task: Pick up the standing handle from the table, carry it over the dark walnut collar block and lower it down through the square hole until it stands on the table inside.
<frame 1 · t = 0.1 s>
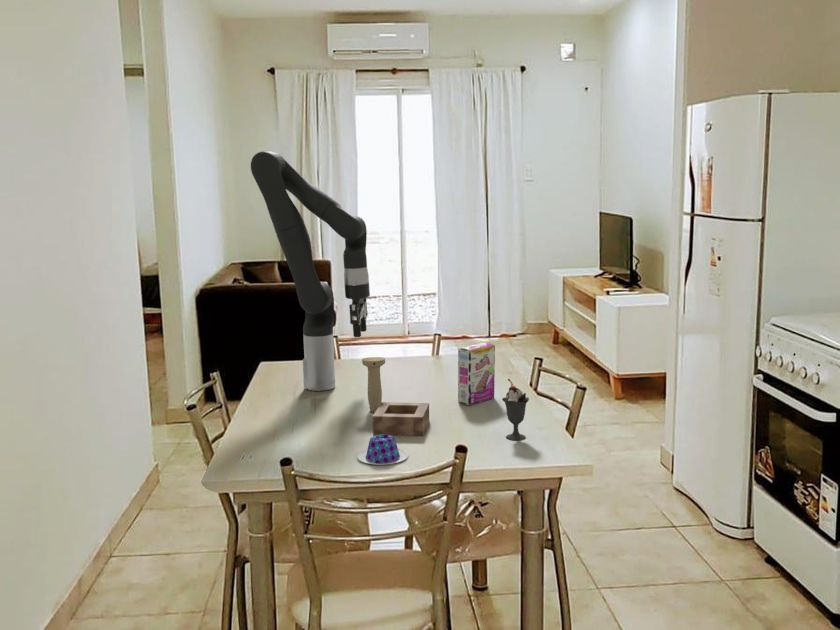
hand: (360, 334, 260), 17 cm above the table, tool pointing down, fingers open, 8 cm apart
handle: (375, 411, 239), on the table
candy bar box: (476, 401, 247), on the table
pudding: (383, 459, 201), on the table
sundae: (515, 438, 213), on the table
collar block: (401, 427, 223), on the table
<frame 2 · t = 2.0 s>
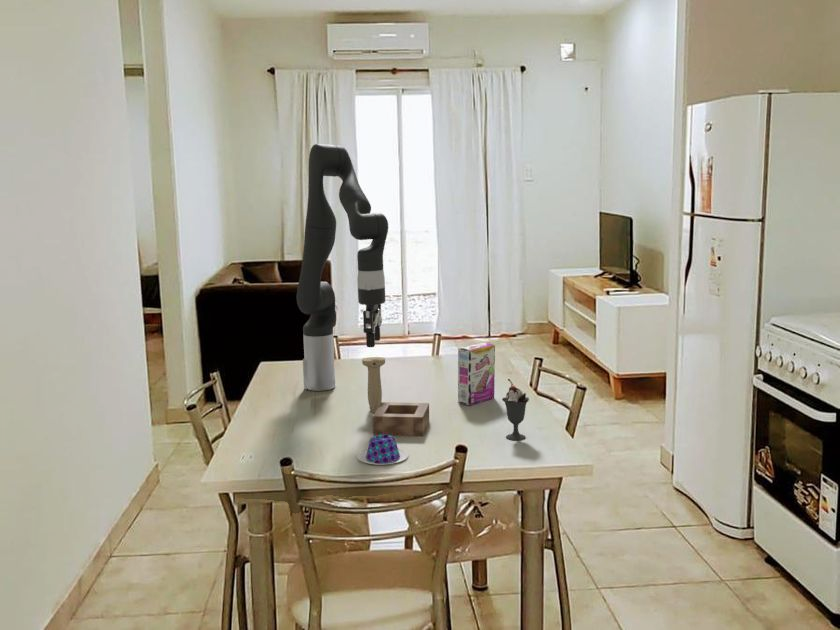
hand: (373, 343, 236), 19 cm above the table, tool pointing down, fingers open, 8 cm apart
nothing on the table moved.
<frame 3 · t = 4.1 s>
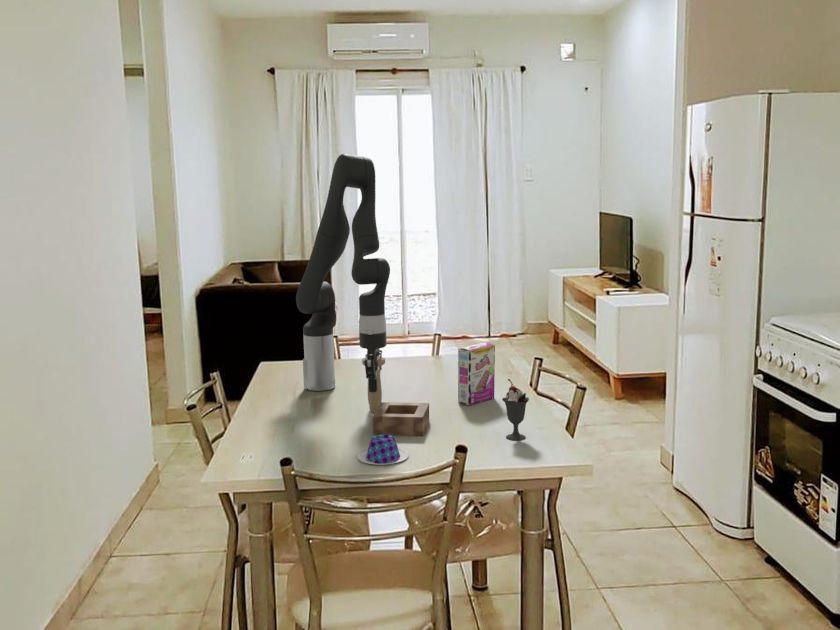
hand: (374, 389, 238), 6 cm above the table, tool pointing down, fingers closed on handle, 4 cm apart
handle: (375, 411, 239), on the table, touching gripper
everything else where it was.
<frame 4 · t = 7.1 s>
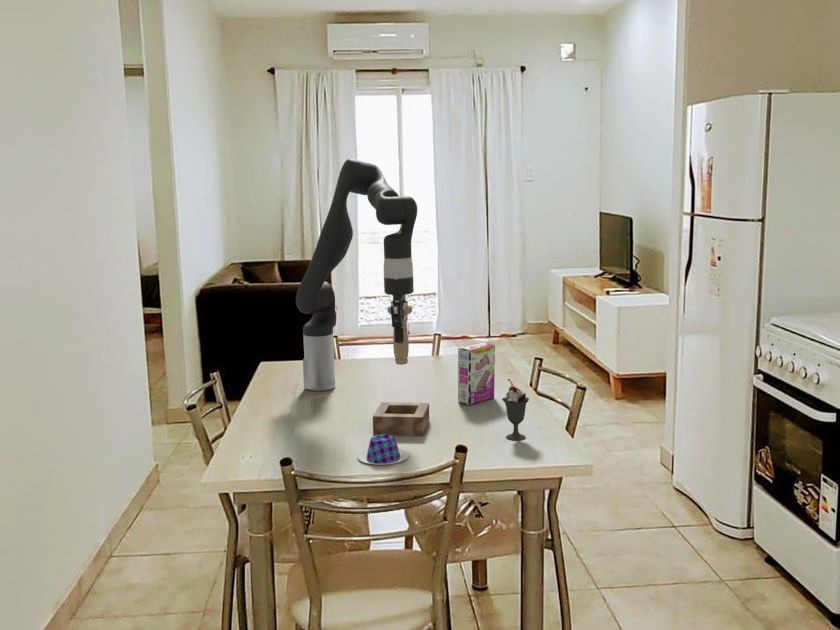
hand: (400, 340, 219), 24 cm above the table, tool pointing down, fingers closed on handle, 4 cm apart
handle: (401, 364, 220), point 17 cm above the table, touching gripper
everything else where it was.
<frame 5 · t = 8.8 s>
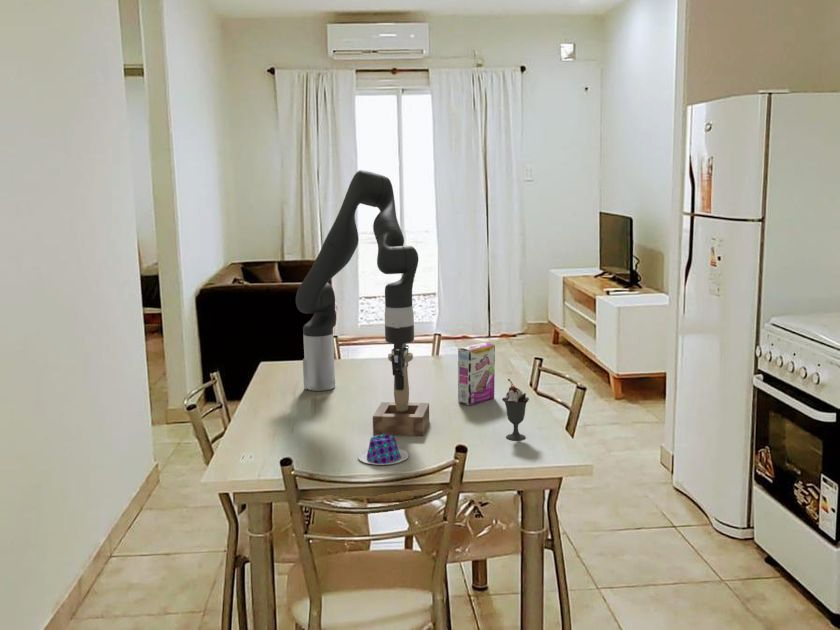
hand: (401, 387, 221), 11 cm above the table, tool pointing down, fingers closed on handle, 4 cm apart
handle: (401, 410, 222), point 5 cm above the table, touching gripper
everything else where it was.
when the fingers open (8 cm above the table, at t = 10.1 s): handle drops 2 cm, resting in collar block.
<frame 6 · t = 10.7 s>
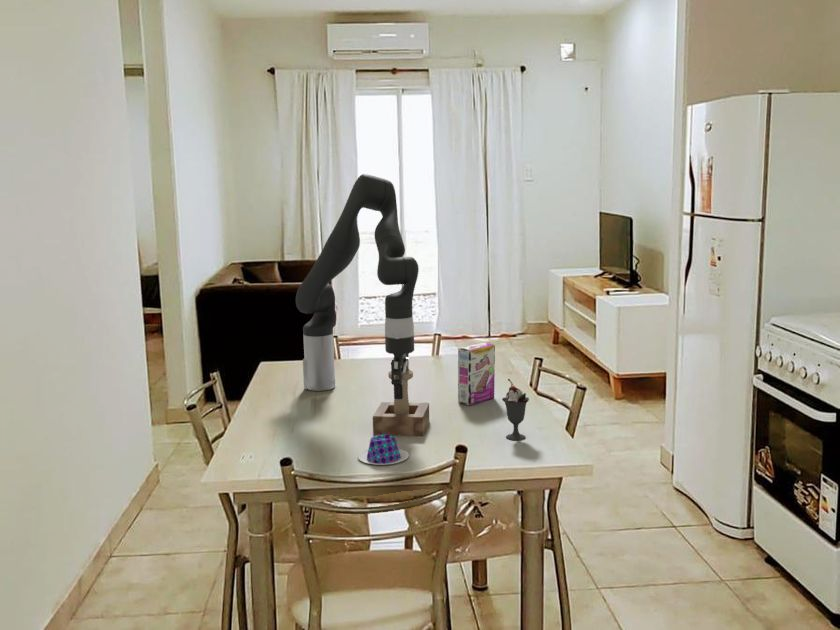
hand: (401, 394, 221), 9 cm above the table, tool pointing down, fingers open, 8 cm apart
handle: (402, 428, 223), resting in collar block
everything else where it was.
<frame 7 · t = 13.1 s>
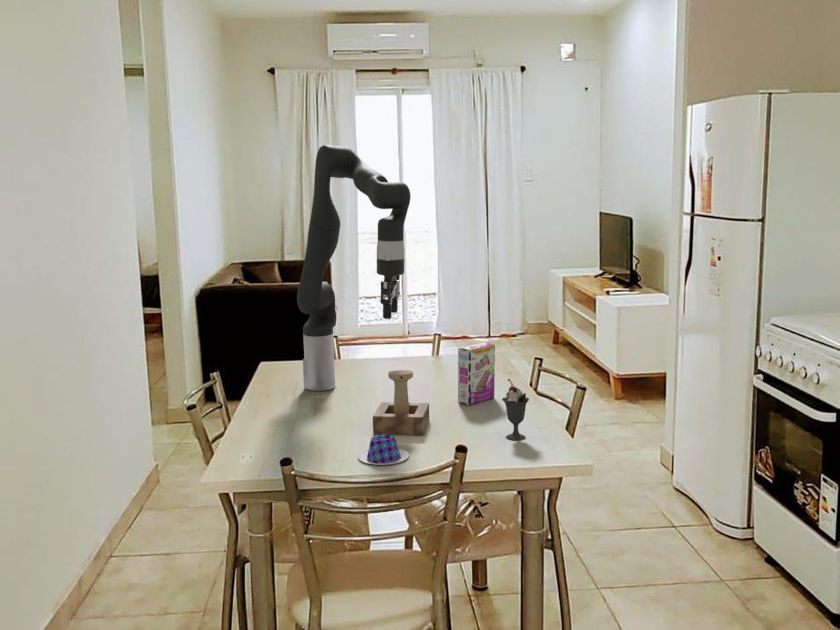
hand: (390, 315, 232), 28 cm above the table, tool pointing down, fingers open, 8 cm apart
nothing on the table moved.
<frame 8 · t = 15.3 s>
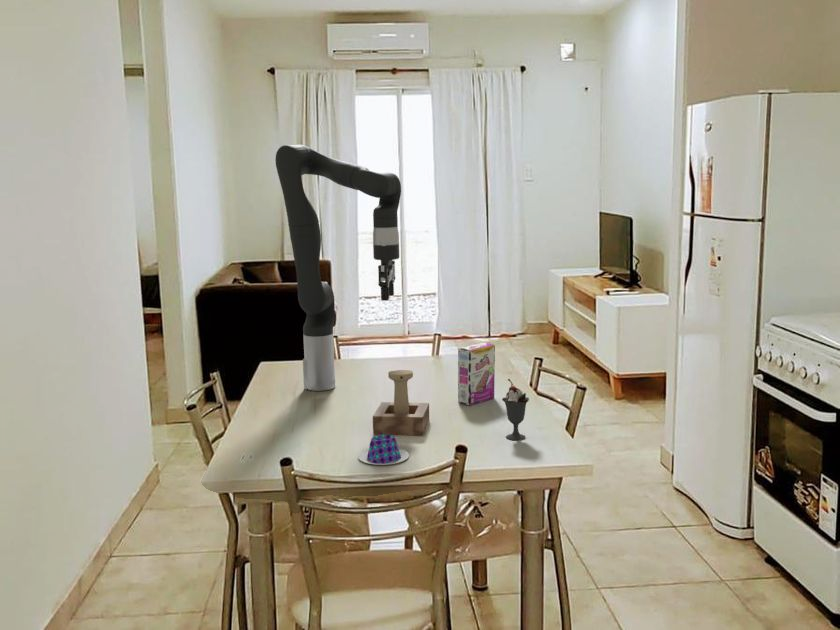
hand: (387, 298, 247), 30 cm above the table, tool pointing down, fingers open, 8 cm apart
nothing on the table moved.
at the end: handle 0.2 cm off-centre on the collar block, point 0.0 cm above the collar block's base; handle tilted 0°; the gripper is holding nothing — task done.
